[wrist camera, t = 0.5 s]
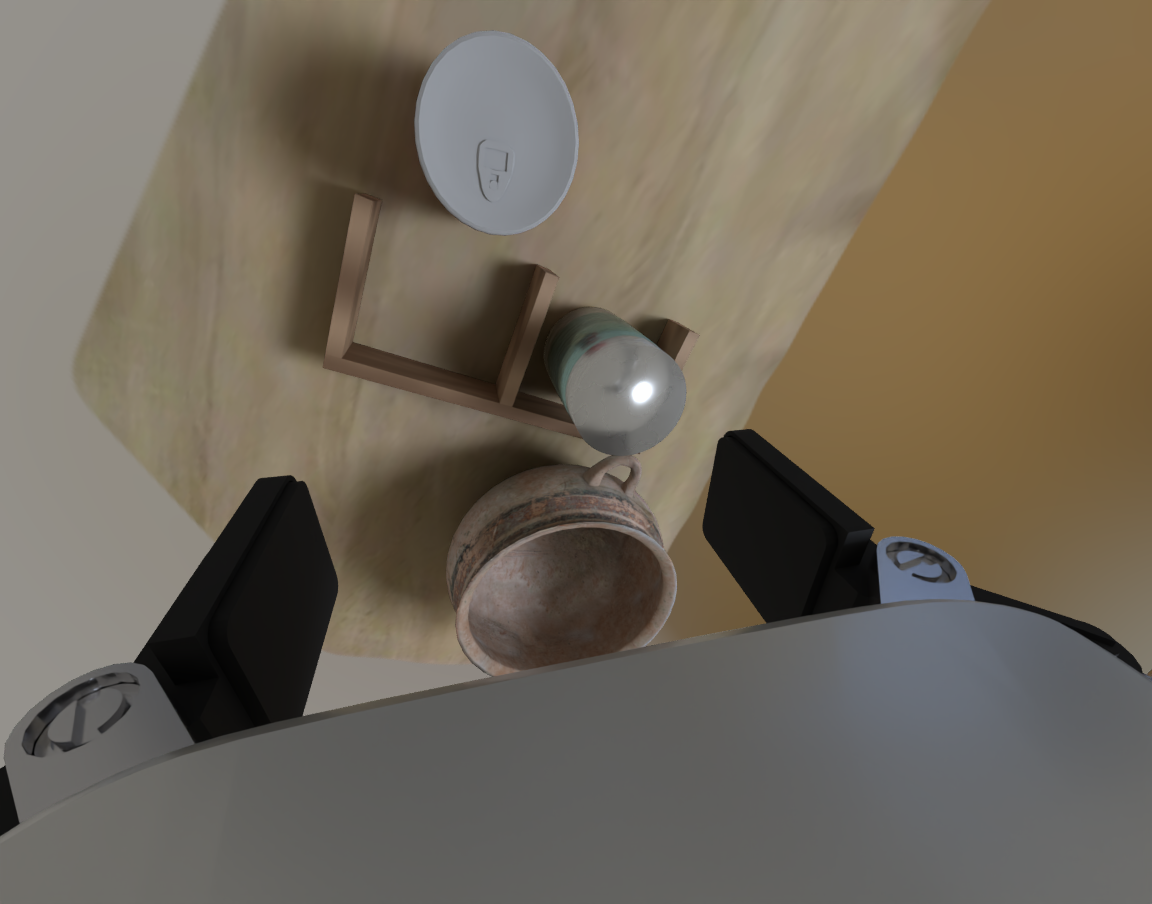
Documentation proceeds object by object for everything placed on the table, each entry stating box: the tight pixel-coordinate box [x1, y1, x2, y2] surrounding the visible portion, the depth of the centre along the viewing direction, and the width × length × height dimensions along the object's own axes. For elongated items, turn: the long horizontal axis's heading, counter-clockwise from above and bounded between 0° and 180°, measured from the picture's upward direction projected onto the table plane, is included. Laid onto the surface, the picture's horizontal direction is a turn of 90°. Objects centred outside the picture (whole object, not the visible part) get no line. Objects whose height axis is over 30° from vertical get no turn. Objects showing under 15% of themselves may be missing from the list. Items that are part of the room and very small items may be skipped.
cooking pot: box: [446, 455, 677, 677], centre depth 41 cm, size 25×19×12 cm
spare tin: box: [544, 307, 686, 456], centre depth 34 cm, size 8×8×11 cm
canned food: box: [414, 30, 579, 236], centre depth 26 cm, size 8×8×11 cm
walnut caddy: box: [323, 194, 700, 454], centre depth 35 cm, size 11×25×4 cm, turn 67°
